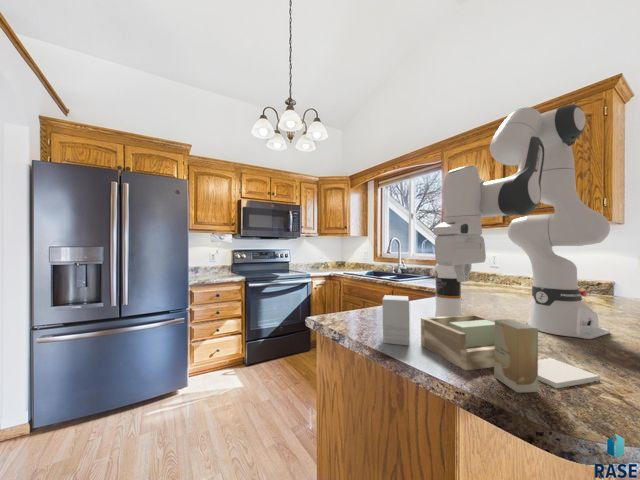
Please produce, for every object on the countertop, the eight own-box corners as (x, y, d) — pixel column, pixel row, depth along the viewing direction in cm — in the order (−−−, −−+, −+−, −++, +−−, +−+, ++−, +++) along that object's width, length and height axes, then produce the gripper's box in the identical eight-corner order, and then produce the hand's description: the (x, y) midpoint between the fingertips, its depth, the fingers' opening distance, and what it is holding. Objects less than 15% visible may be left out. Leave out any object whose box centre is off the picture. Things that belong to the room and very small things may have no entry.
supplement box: (409, 337, 80) (409, 295, 80) (409, 346, 73) (409, 300, 73) (384, 335, 82) (384, 294, 83) (382, 343, 75) (382, 298, 76)
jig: (474, 339, 79) (474, 314, 79) (529, 361, 63) (529, 330, 64) (421, 344, 74) (420, 317, 74) (465, 370, 59) (465, 336, 59)
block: (486, 337, 73) (485, 319, 73) (501, 343, 68) (500, 324, 69) (449, 341, 70) (449, 322, 70) (462, 347, 65) (462, 327, 66)
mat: (551, 362, 63) (551, 358, 63) (599, 380, 54) (599, 375, 54) (512, 368, 60) (511, 363, 60) (556, 388, 51) (556, 383, 51)
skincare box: (493, 377, 56) (492, 318, 56) (512, 376, 56) (511, 318, 56) (518, 394, 49) (517, 327, 50) (540, 393, 50) (539, 327, 50)
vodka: (465, 332, 86) (464, 239, 87) (434, 328, 89) (433, 239, 90) (461, 324, 94) (460, 240, 95) (433, 321, 98) (432, 240, 99)
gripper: (467, 230, 78) (468, 277, 78) (429, 228, 66) (430, 283, 65) (491, 229, 73) (492, 279, 73) (455, 226, 61) (456, 286, 60)
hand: (463, 281), depth 69 cm, fingers closed
